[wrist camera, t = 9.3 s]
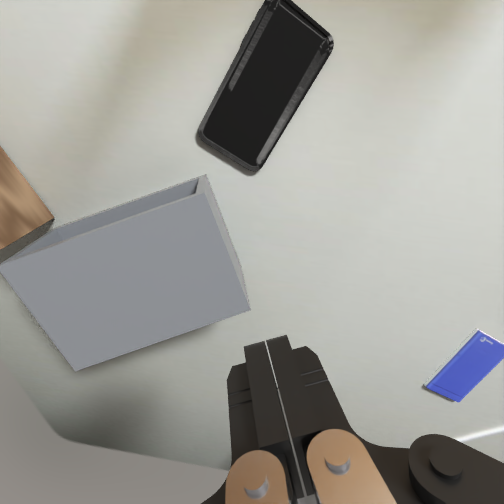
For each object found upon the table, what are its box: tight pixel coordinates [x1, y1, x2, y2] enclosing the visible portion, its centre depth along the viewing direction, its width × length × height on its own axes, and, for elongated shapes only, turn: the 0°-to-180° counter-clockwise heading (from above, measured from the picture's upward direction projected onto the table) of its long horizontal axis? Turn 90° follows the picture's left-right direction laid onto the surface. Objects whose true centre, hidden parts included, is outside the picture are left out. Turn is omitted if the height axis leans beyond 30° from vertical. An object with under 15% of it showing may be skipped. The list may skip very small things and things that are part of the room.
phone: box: [198, 0, 334, 171], centre depth 32 cm, size 8×1×15 cm
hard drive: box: [424, 328, 504, 402], centre depth 51 cm, size 2×8×12 cm
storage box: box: [0, 174, 251, 371], centre depth 32 cm, size 12×18×10 cm, turn 108°
